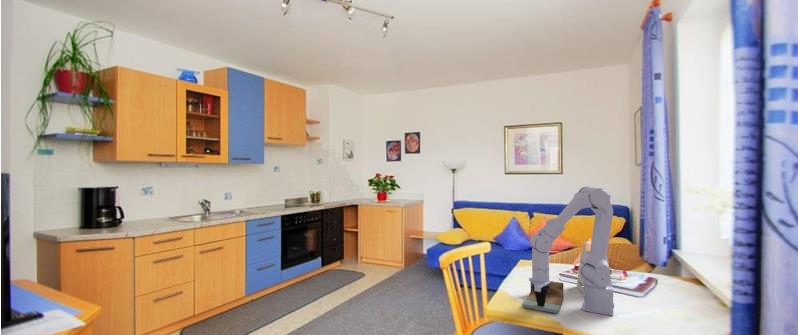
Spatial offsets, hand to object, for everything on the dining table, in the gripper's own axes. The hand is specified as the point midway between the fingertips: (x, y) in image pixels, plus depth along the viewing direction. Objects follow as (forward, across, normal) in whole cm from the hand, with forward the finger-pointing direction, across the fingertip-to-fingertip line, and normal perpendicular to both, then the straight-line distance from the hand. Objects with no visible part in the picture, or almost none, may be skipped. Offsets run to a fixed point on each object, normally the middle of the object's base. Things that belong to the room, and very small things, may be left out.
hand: (541, 305), depth 131 cm
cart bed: (+2, -9, 0) cm, 9 cm away
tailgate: (0, -4, 0) cm, 4 cm away
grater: (+2, -30, +16) cm, 34 cm away
